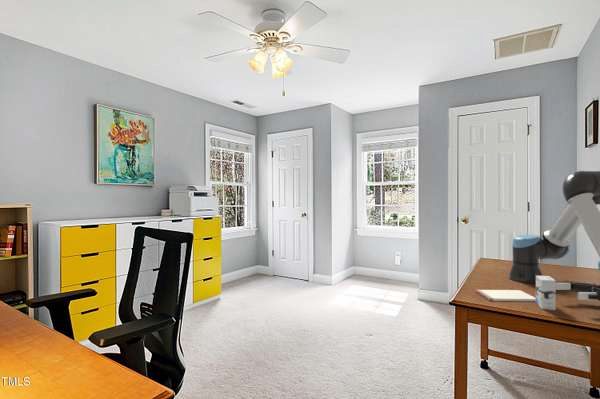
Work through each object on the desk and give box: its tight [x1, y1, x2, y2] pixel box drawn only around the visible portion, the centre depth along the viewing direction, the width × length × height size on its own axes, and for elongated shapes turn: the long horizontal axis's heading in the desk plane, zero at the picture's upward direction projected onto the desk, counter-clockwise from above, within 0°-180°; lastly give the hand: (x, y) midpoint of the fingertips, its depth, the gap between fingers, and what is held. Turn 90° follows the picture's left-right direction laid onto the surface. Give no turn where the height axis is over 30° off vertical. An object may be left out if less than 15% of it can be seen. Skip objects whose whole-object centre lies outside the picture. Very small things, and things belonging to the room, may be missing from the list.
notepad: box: [475, 289, 536, 302], centre depth 152 cm, size 20×13×1 cm, turn 86°
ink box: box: [535, 275, 557, 311], centre depth 138 cm, size 8×5×12 cm, turn 159°
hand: (565, 290), depth 137 cm, fingers open, 13 cm apart
